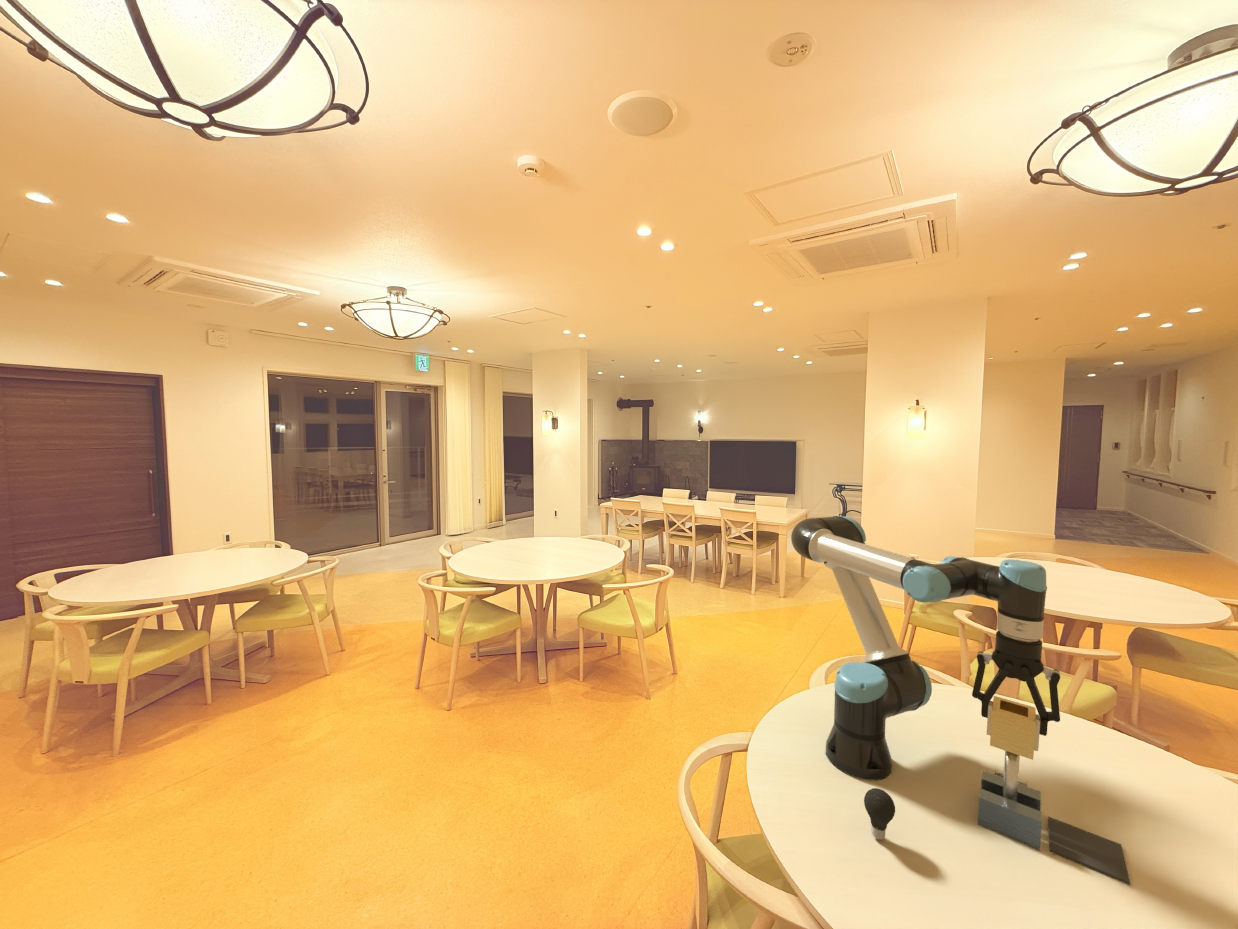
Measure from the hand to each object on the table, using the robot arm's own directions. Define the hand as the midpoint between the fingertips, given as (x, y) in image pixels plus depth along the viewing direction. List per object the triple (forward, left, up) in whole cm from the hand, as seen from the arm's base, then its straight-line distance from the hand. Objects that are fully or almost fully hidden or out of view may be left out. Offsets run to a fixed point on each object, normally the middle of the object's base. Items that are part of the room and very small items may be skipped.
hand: (1011, 739), depth 103 cm
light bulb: (-20, -24, -18) cm, 36 cm away
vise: (0, +3, -18) cm, 18 cm away
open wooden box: (0, 0, -1) cm, 1 cm away
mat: (+12, +1, -18) cm, 22 cm away
